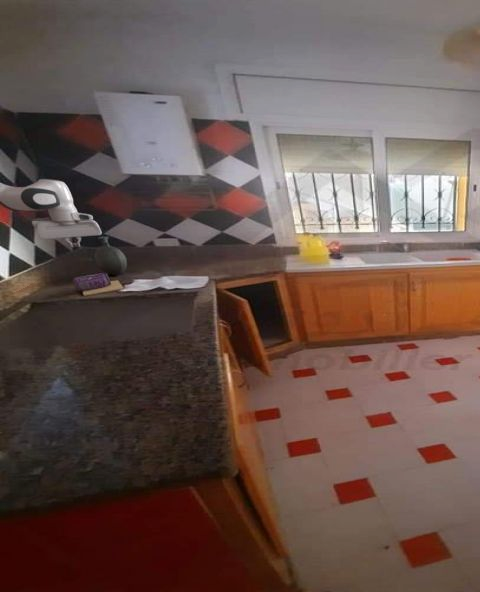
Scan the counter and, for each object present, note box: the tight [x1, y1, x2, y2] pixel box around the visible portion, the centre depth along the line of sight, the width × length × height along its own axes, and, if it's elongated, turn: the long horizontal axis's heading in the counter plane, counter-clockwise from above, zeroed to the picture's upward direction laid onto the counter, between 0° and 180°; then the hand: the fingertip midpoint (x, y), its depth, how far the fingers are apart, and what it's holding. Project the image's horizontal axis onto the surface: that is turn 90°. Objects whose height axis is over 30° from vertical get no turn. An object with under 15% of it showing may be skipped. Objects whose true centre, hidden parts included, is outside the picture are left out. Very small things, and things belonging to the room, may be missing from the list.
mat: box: [82, 279, 124, 297], centre depth 159 cm, size 14×20×1 cm
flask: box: [94, 236, 128, 276], centre depth 178 cm, size 12×17×22 cm
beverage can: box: [72, 272, 111, 293], centre depth 155 cm, size 7×7×12 cm
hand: (76, 246), depth 149 cm, fingers closed
